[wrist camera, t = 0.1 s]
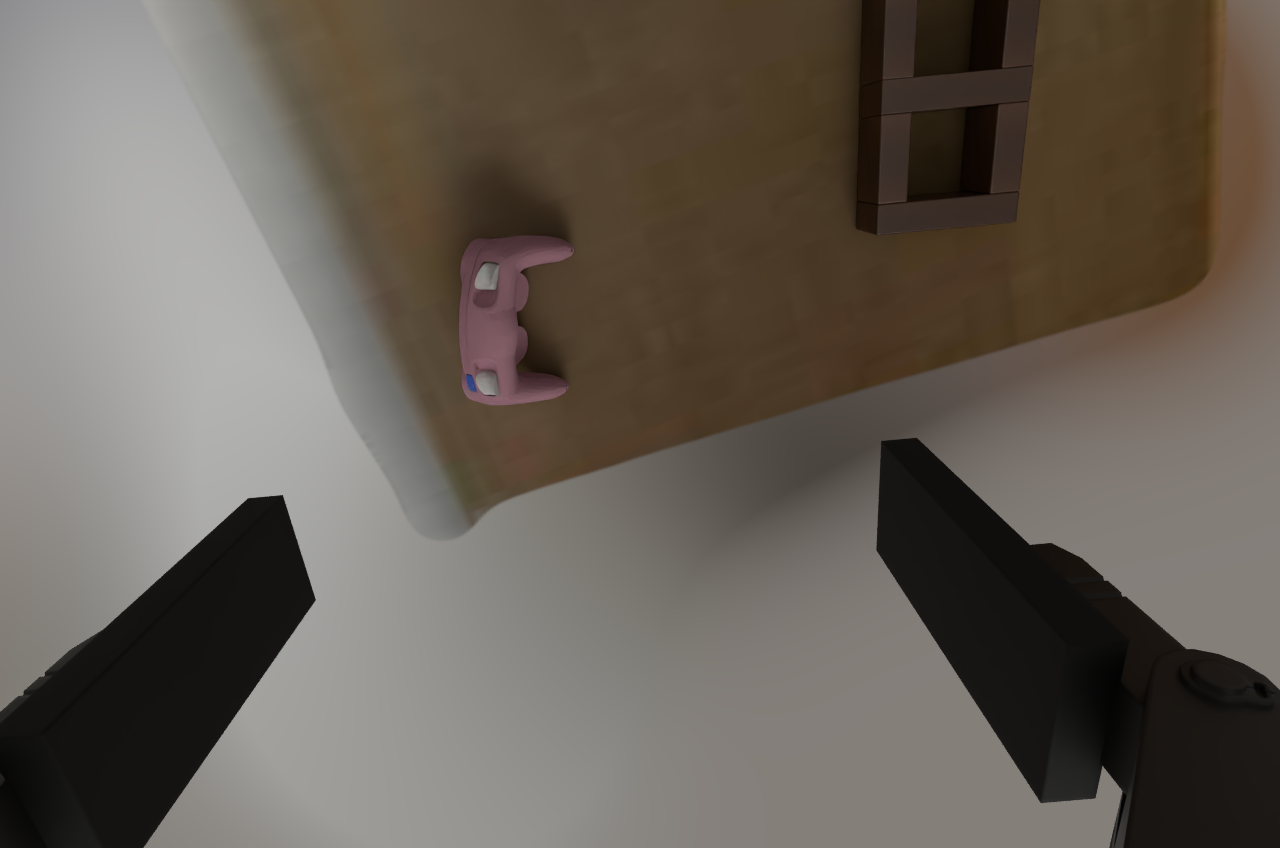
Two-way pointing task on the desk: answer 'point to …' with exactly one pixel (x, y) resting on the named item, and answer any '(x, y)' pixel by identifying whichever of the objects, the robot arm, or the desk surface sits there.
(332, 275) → the desk surface
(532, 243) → the video game controller
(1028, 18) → the pen block
